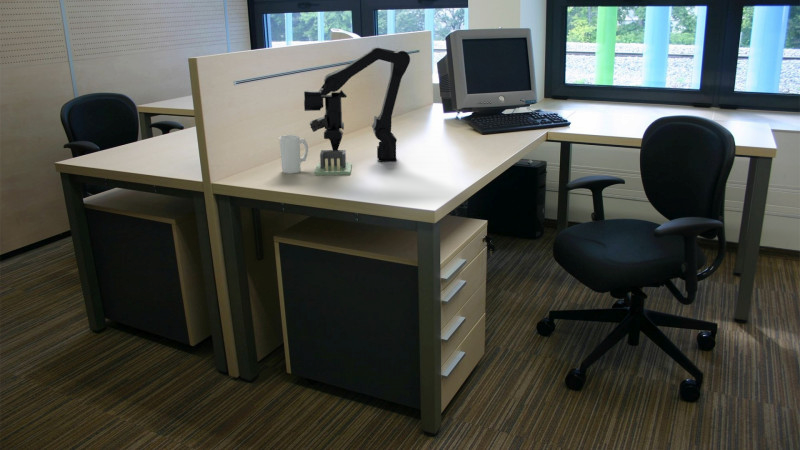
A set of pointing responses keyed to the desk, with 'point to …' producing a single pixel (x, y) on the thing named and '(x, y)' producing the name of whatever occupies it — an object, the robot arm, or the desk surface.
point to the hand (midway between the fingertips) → (335, 153)
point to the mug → (292, 153)
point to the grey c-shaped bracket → (333, 157)
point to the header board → (333, 168)
